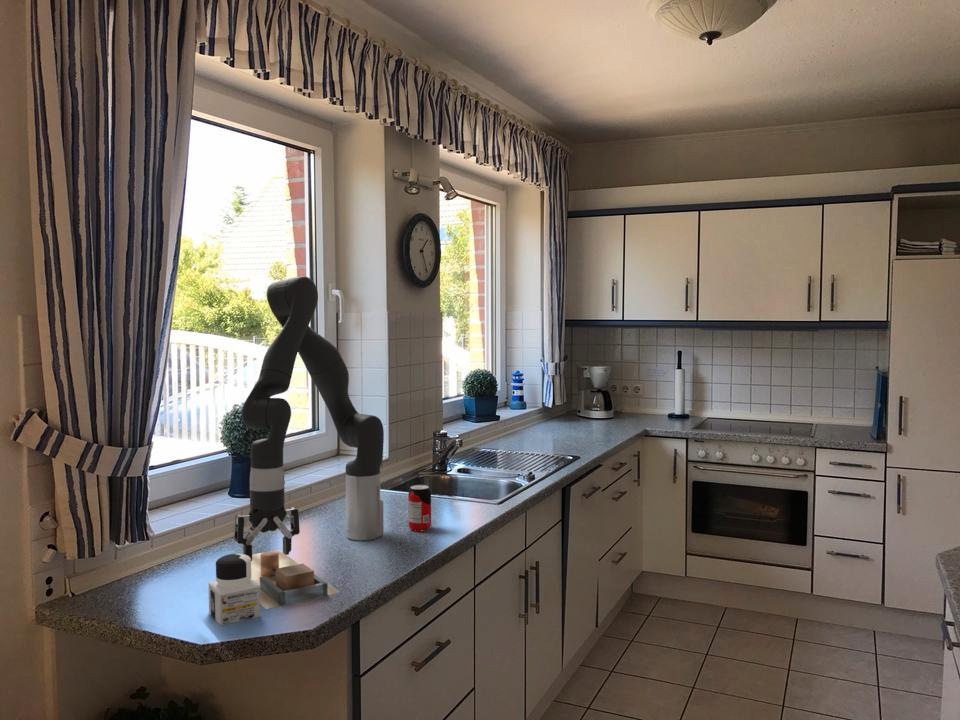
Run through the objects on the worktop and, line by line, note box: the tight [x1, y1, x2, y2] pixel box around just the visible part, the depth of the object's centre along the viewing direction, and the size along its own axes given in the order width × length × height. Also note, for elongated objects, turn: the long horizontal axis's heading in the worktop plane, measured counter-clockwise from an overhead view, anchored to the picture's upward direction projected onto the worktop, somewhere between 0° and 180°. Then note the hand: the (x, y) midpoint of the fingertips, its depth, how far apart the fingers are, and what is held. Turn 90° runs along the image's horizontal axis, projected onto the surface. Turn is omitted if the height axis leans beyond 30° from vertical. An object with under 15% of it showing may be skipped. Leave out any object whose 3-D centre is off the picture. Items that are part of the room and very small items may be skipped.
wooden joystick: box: [260, 550, 315, 591], centre depth 166 cm, size 6×20×5 cm, turn 35°
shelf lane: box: [213, 549, 341, 610], centre depth 171 cm, size 16×36×4 cm, turn 35°
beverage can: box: [407, 484, 432, 532], centre depth 214 cm, size 6×6×12 cm
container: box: [208, 553, 261, 626], centre depth 149 cm, size 8×8×13 cm
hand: (267, 557), depth 172 cm, fingers open, 8 cm apart
